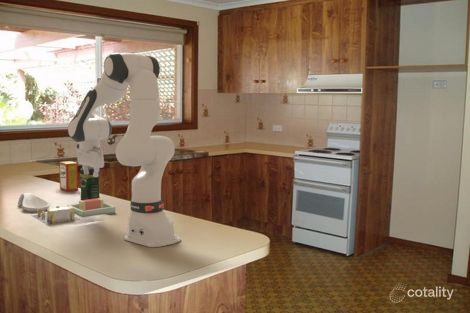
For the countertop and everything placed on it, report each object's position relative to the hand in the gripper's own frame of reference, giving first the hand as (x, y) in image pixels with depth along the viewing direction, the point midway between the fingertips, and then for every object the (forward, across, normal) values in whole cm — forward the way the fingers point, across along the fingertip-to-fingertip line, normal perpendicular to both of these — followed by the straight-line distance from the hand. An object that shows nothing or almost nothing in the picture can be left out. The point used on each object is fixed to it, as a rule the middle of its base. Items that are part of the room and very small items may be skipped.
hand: (91, 175), depth 218 cm
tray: (+17, 0, 0) cm, 17 cm away
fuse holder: (+17, -2, +18) cm, 25 cm away
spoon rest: (+17, +23, +20) cm, 35 cm away
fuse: (+16, 0, 0) cm, 16 cm away
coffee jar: (+17, +18, -8) cm, 26 cm away
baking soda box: (+17, +58, -14) cm, 62 cm away
